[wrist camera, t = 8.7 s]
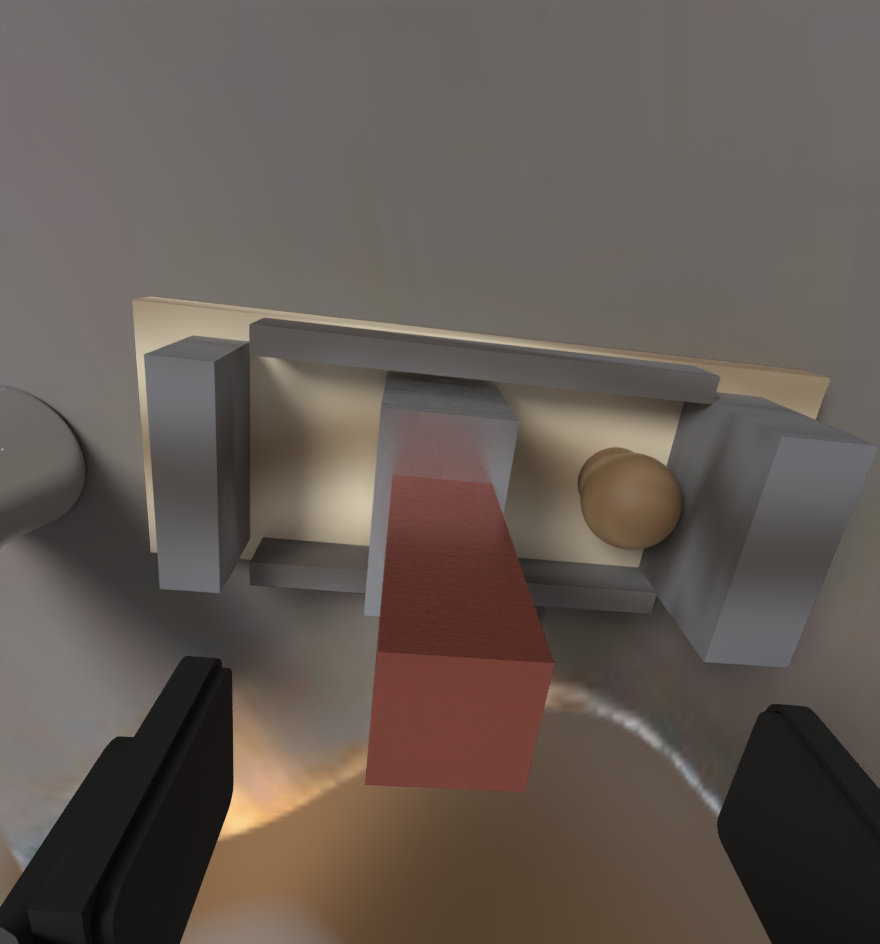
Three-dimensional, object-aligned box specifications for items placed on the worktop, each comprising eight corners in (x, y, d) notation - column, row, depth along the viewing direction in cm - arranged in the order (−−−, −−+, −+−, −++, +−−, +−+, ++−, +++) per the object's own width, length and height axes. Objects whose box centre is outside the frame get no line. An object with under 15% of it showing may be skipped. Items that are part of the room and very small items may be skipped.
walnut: (643, 523, 24) (685, 571, 20) (560, 516, 24) (587, 564, 20) (665, 442, 23) (713, 478, 19) (577, 433, 22) (609, 468, 19)
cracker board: (733, 579, 27) (845, 695, 20) (165, 535, 25) (69, 647, 18) (805, 370, 24) (972, 421, 17) (150, 296, 21) (23, 319, 14)
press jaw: (470, 550, 24) (532, 864, 12) (373, 542, 23) (332, 858, 11) (495, 383, 21) (608, 562, 9) (387, 372, 21) (355, 542, 9)
